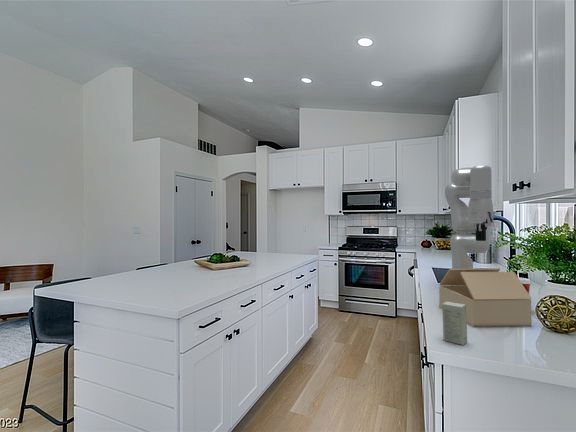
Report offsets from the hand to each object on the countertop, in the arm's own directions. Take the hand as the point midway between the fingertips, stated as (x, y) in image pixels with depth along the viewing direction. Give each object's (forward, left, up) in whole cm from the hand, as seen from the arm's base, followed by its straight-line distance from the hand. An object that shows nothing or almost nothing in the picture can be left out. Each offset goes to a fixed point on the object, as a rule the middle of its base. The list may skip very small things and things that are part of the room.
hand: (480, 240), depth 124 cm
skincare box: (+24, -25, -31) cm, 47 cm away
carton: (0, 0, -31) cm, 31 cm away
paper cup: (-6, +21, -31) cm, 38 cm away
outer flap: (+8, 0, -17) cm, 19 cm away
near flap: (-8, 0, -17) cm, 19 cm away
